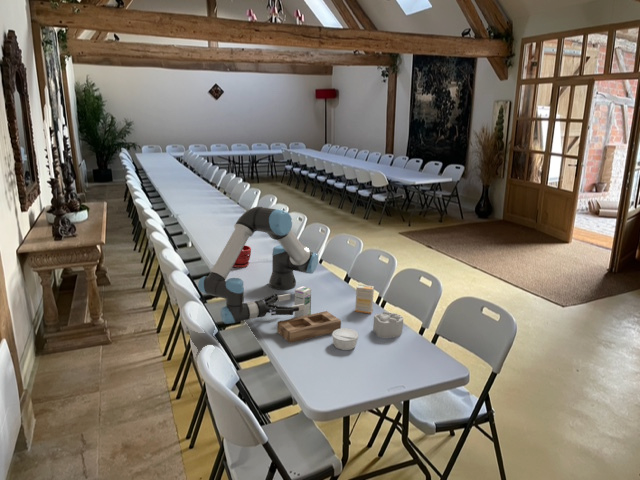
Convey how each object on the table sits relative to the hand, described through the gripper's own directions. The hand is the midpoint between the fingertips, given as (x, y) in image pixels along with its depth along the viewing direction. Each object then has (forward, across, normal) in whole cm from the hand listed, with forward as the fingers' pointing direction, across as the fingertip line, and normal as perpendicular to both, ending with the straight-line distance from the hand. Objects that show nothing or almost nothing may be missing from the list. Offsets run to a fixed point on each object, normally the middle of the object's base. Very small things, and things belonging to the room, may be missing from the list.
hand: (296, 301), depth 223 cm
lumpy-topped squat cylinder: (+31, +32, -9) cm, 45 cm away
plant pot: (+6, -84, -9) cm, 85 cm away
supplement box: (+34, +7, -9) cm, 36 cm away
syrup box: (+4, 0, -9) cm, 10 cm away
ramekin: (+6, +33, -9) cm, 34 cm away
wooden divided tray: (-1, +15, -9) cm, 17 cm away
